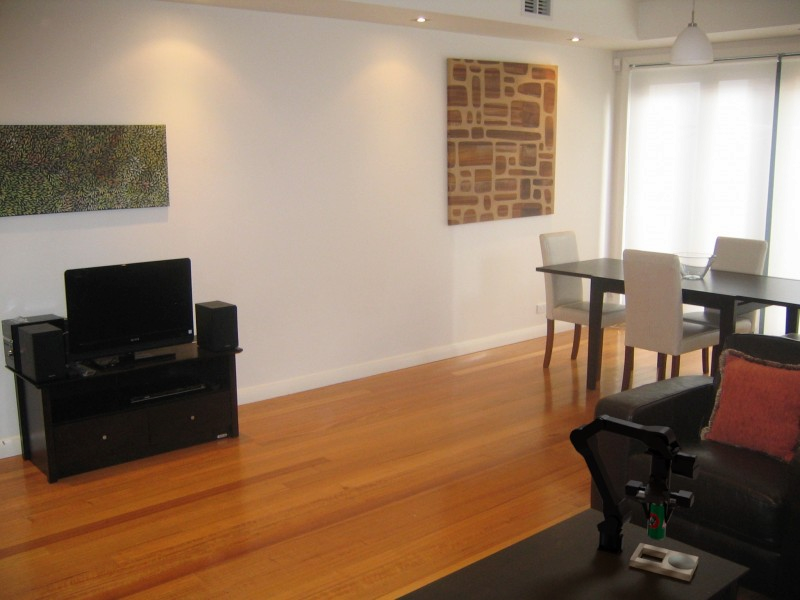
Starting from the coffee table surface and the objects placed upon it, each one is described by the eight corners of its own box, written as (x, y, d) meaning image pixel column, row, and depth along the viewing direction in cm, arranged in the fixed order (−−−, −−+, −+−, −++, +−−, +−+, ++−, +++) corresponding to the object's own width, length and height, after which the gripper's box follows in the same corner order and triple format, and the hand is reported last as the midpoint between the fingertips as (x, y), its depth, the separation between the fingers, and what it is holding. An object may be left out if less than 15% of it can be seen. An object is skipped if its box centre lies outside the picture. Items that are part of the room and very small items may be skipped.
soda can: (665, 541, 235) (668, 503, 232) (647, 540, 236) (650, 501, 233) (663, 534, 239) (666, 496, 237) (646, 532, 240) (648, 494, 238)
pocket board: (629, 565, 237) (629, 558, 236) (639, 548, 247) (640, 541, 247) (690, 581, 228) (691, 574, 228) (699, 563, 238) (699, 556, 238)
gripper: (620, 473, 232) (617, 524, 234) (688, 487, 222) (684, 539, 225) (630, 460, 241) (628, 509, 244) (696, 473, 232) (692, 524, 235)
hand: (657, 521), depth 237 cm, fingers closed on soda can, 5 cm apart
